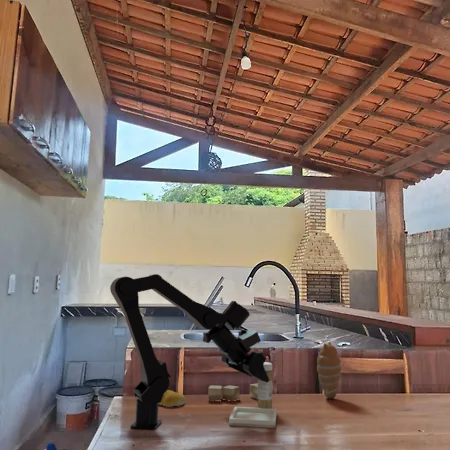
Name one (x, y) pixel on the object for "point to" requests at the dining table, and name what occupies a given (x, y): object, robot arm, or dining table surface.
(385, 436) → the dining table surface
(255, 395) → the oak cube
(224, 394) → the oak cube
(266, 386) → the sprinkles bottle
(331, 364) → the croissant
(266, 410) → the tray
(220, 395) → the oak cube
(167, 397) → the bread roll
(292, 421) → the dining table surface
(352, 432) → the dining table surface
